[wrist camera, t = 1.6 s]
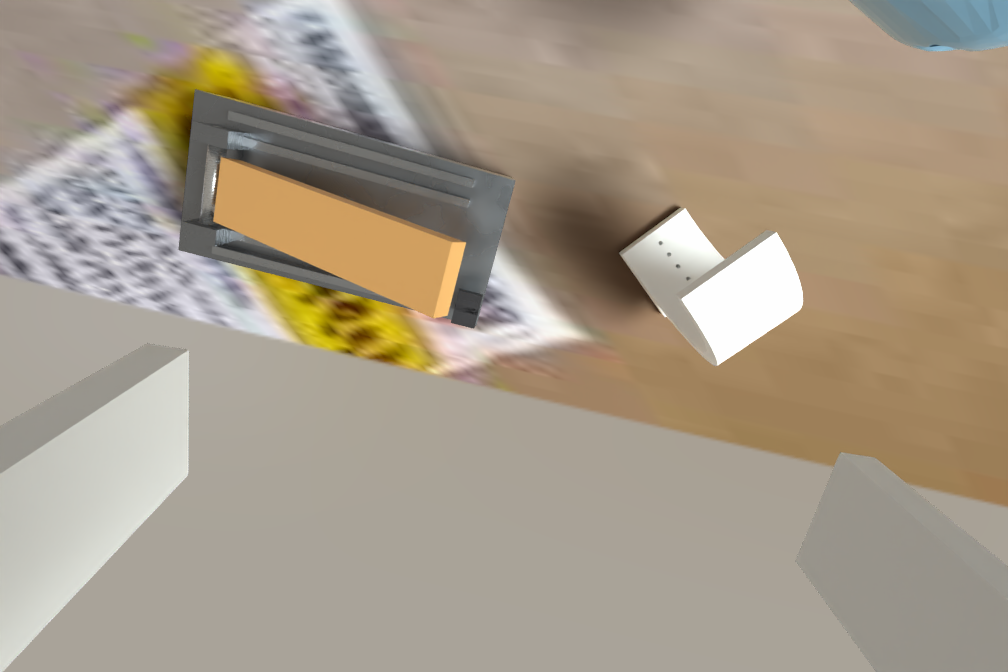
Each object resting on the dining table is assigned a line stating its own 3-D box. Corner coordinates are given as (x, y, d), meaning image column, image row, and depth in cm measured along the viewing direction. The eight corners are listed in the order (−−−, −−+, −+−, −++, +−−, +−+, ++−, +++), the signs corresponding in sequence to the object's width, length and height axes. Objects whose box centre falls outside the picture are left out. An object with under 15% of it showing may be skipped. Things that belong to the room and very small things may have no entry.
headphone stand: (680, 206, 34) (777, 231, 23) (730, 284, 36) (844, 343, 24) (617, 252, 35) (680, 298, 24) (669, 326, 37) (751, 403, 25)
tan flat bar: (231, 222, 27) (213, 221, 27) (240, 160, 27) (221, 157, 26) (447, 315, 22) (433, 318, 22) (466, 242, 22) (452, 242, 21)
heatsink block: (221, 236, 34) (149, 258, 27) (239, 99, 32) (165, 82, 25) (477, 303, 36) (475, 340, 28) (511, 177, 33) (517, 182, 26)
